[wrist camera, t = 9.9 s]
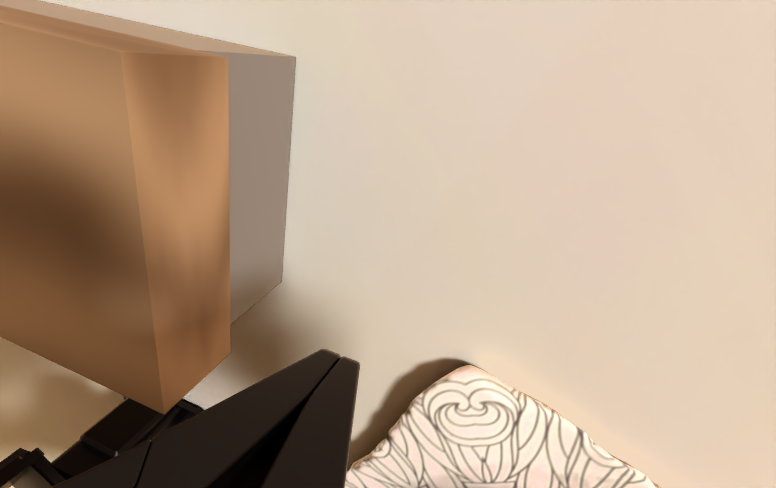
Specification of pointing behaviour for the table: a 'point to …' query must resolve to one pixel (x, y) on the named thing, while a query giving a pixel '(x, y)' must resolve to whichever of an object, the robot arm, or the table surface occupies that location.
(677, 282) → the table surface
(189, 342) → the slab
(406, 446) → the cookie jar
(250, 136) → the plinth
